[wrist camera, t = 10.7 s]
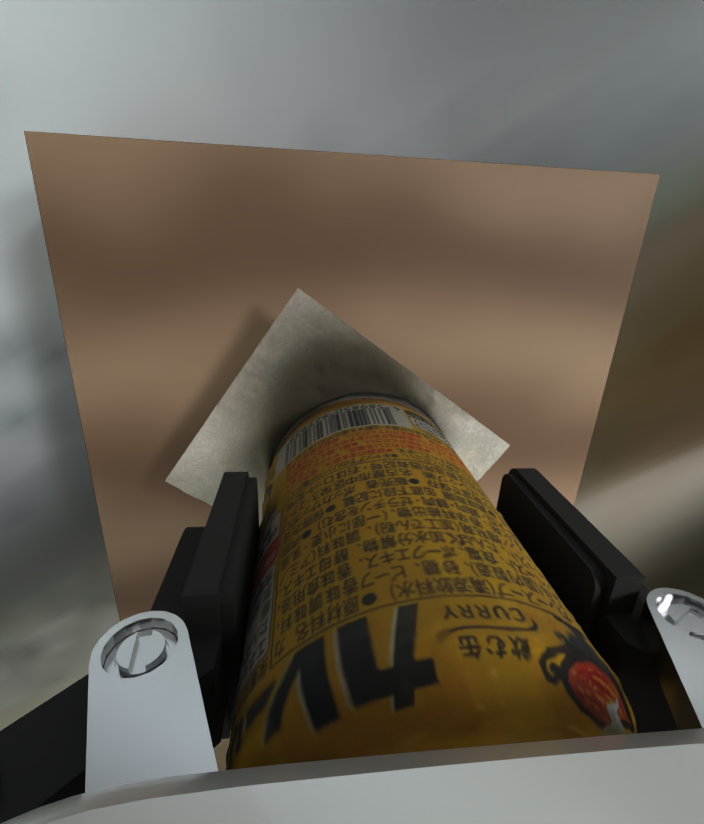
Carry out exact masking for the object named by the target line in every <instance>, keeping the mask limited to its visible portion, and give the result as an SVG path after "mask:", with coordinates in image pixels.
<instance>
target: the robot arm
mask: <svg viewBox="0 0 704 824" xmlns="http://www.w3.org/2000/svg"><path fill="white" fill-rule="evenodd" d="M496 510H497V511H498V512H499V513H501V514H502V516H503V519H504V520H505V522H506V523H507V525H508V526H509V528H510V529H511V531H512V532H513V533H514V535H515V536H516V538H517V539H518V540H519V542H520V543H521V544H522V546H523V548H524V549H525V550H526V552H527V553H528V554H529V556H530V558H531V559H532V560H533V562H534V563H535V565H536V566H537V568H539V569H540V571H541V572H542V574H543V575H544V577H545V578H546V580H547V581H548V583H549V584H550V586H551V587H552V588H553V590H554V591H555V593H556V594H557V596H558V597H559V599H560V600H561V602H562V603H563V604H564V606H565V607H566V608H567V610H568V611H569V612H570V613H571V614H572V615H573V617H574V619H575V621H576V622H577V623H578V624H579V625H580V626H581V628H582V630H583V632H584V633H585V635H586V636H587V638H588V640H589V641H590V643H591V644H592V645H593V647H594V648H595V649H596V651H597V652H598V653H599V655H600V656H601V657H602V658H603V659H604V661H605V662H606V663H607V664H608V665H609V667H610V669H611V670H612V671H613V672H614V673H615V674H616V676H617V677H618V678H619V680H620V683H621V686H622V689H623V692H624V693H625V695H626V697H627V699H628V701H629V703H630V705H631V708H632V711H633V714H634V717H635V720H636V726H637V731H638V733H636V734H623V735H610V736H598V737H586V738H574V739H562V740H550V741H538V742H526V743H514V744H502V745H491V746H479V747H467V748H456V749H444V750H432V751H421V752H410V753H399V754H388V755H377V756H366V757H355V758H344V759H333V760H322V761H311V762H300V763H289V764H278V765H269V766H260V767H251V768H242V769H233V770H224V771H218V769H217V764H216V759H215V755H214V750H213V748H214V747H215V746H217V745H218V744H219V743H220V742H221V739H226V738H229V737H230V731H231V724H232V716H233V711H234V702H235V693H236V689H237V686H238V677H239V670H240V664H241V659H242V651H243V643H244V637H245V627H246V624H247V616H248V609H249V605H250V593H251V590H252V583H253V573H254V566H255V562H256V556H257V550H258V545H257V543H258V539H259V509H258V485H257V477H249V473H248V472H224V474H223V477H222V480H221V483H220V486H219V488H218V491H217V494H216V497H215V500H214V503H213V506H212V509H211V512H210V514H209V517H208V520H207V523H206V526H203V527H187V528H185V530H184V531H183V533H182V536H181V538H180V541H179V543H178V545H177V548H176V550H175V553H174V555H173V558H172V560H171V562H170V565H169V567H168V570H167V572H166V574H165V577H164V579H163V582H162V584H161V586H160V589H159V591H158V594H157V596H156V598H155V601H154V603H153V606H152V608H151V610H150V611H149V612H144V613H139V614H136V615H134V616H131V617H129V618H126V619H124V620H122V621H121V622H119V623H118V624H116V625H115V626H113V627H112V628H110V629H109V630H108V631H107V632H106V633H105V634H104V635H103V636H102V637H101V638H100V639H99V641H98V642H97V644H96V645H95V647H94V649H93V650H92V653H91V657H90V661H89V674H88V675H86V676H85V677H83V678H82V679H80V680H78V681H77V682H75V683H74V684H72V685H71V686H69V687H68V688H66V689H65V690H63V691H61V692H60V693H58V694H57V695H55V696H54V697H52V698H51V699H49V700H48V701H46V702H45V703H43V704H41V705H40V706H38V707H37V708H35V709H34V710H32V711H31V712H29V713H28V714H26V715H24V716H23V717H21V718H20V719H18V720H17V721H15V722H14V723H12V724H11V725H9V726H7V727H6V728H4V729H3V730H1V731H0V824H704V599H703V598H701V597H698V596H696V595H694V594H692V593H689V592H685V591H682V590H678V589H672V588H658V589H654V590H652V591H651V592H649V591H648V590H647V589H646V588H645V587H644V586H643V585H642V584H643V581H644V578H645V576H644V575H643V574H642V573H641V572H640V571H639V570H638V569H637V568H636V567H635V566H634V565H633V564H632V563H631V562H630V561H629V560H628V559H627V558H626V557H625V556H624V555H623V554H622V553H621V552H620V551H619V550H618V549H617V548H616V547H615V546H614V545H613V544H612V543H611V542H610V541H609V540H608V539H607V538H606V537H604V536H603V535H602V534H601V533H600V532H599V531H598V530H597V529H596V528H595V527H594V526H593V525H592V524H591V523H590V522H589V521H588V520H587V519H586V518H585V517H584V516H583V515H582V514H581V513H580V512H579V511H578V510H577V509H576V508H575V507H574V506H573V505H572V504H571V503H570V502H569V501H568V500H567V499H566V498H565V497H564V496H563V495H562V494H561V493H560V492H559V491H558V490H557V489H556V488H555V487H554V486H553V485H552V484H551V483H550V482H549V481H548V480H547V479H546V478H545V477H544V476H543V475H542V474H541V473H540V472H539V471H538V470H536V469H535V468H512V469H511V470H510V471H509V473H508V474H505V475H504V476H503V477H502V481H501V487H500V492H499V497H498V502H497V508H496Z"/></svg>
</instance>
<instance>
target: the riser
mask: <svg viewBox="0 0 704 824" xmlns="http://www.w3.org/2000/svg"><path fill="white" fill-rule="evenodd" d="M24 133H25V138H26V144H27V149H28V154H29V159H30V164H31V169H32V174H33V179H34V184H35V190H36V195H37V200H38V205H39V210H40V215H41V220H42V225H43V230H44V235H45V241H46V246H47V251H48V256H49V261H50V266H51V271H52V276H53V281H54V287H55V292H56V297H57V302H58V307H59V312H60V317H61V322H62V327H63V333H64V338H65V343H66V348H67V353H68V358H69V363H70V368H71V373H72V378H73V384H74V389H75V394H76V399H77V404H78V409H79V414H80V419H81V424H82V430H83V435H84V440H85V445H86V450H87V455H88V460H89V465H90V470H91V476H92V481H93V486H94V491H95V496H96V501H97V506H98V511H99V516H100V521H101V527H102V532H103V537H104V542H105V547H106V552H107V557H108V562H109V567H110V573H111V578H112V583H113V588H114V593H115V598H116V603H117V608H118V613H119V619H120V622H121V621H122V620H124V619H126V618H129V617H131V616H134V615H136V614H139V613H144V612H149V611H150V610H151V608H152V606H153V603H154V601H155V598H156V596H157V594H158V591H159V589H160V586H161V584H162V582H163V579H164V577H165V574H166V572H167V570H168V567H169V565H170V562H171V560H172V558H173V555H174V553H175V550H176V548H177V545H178V543H179V541H180V538H181V536H182V533H183V531H184V530H185V528H187V527H203V526H206V523H207V520H208V517H209V514H210V512H211V509H212V506H211V505H210V504H208V503H206V502H204V501H202V500H199V499H197V498H195V497H193V496H191V495H189V494H187V493H185V492H183V491H182V490H181V489H179V488H177V487H175V486H173V485H171V484H169V483H168V482H166V481H165V480H166V479H167V477H168V476H169V474H170V473H171V471H172V470H173V468H174V467H175V465H176V464H177V463H178V461H179V460H180V458H181V457H182V455H183V454H184V453H185V451H186V449H187V448H188V446H189V445H190V444H191V442H192V441H193V439H194V438H195V436H196V435H197V433H198V432H199V431H200V429H201V428H202V427H203V425H204V423H205V422H206V420H207V419H208V417H209V416H210V414H211V413H212V411H213V410H214V408H215V407H216V405H217V404H218V403H219V401H220V400H221V399H222V397H223V396H224V394H225V393H226V391H227V390H228V388H229V387H230V385H231V384H232V383H233V381H234V380H235V378H236V377H237V375H238V374H239V373H240V371H241V369H242V368H243V367H244V365H245V363H246V362H247V360H248V359H249V358H250V357H251V355H252V354H253V353H254V351H255V349H256V348H257V346H258V345H259V343H260V342H261V341H262V339H263V338H264V336H265V335H266V333H267V332H268V330H269V329H270V328H271V326H272V325H273V323H274V322H275V320H276V319H277V317H278V316H279V315H280V313H281V312H282V311H283V309H284V307H285V306H286V304H287V303H288V302H289V300H290V299H291V297H292V296H293V294H294V293H295V292H296V290H297V289H298V288H299V289H300V290H302V291H303V292H304V293H306V294H307V295H308V296H310V297H311V298H312V299H314V300H315V301H317V302H318V303H319V304H320V305H322V306H323V307H324V308H326V309H327V310H328V311H330V312H331V313H332V314H334V315H335V316H337V317H338V318H339V319H341V320H342V321H344V322H345V323H346V324H348V325H349V326H350V327H352V328H354V329H355V330H356V331H358V332H359V333H360V334H361V335H363V336H364V337H365V338H367V339H368V340H369V341H371V342H372V343H373V344H375V345H376V346H377V347H379V348H380V349H381V350H383V351H384V352H385V353H387V354H388V355H389V356H390V357H392V358H393V359H395V360H396V361H397V362H399V363H400V364H401V365H403V366H404V367H406V368H407V369H408V370H410V371H412V372H413V373H414V374H415V375H416V376H418V377H419V378H421V379H422V380H423V381H425V382H426V383H427V384H429V385H430V386H431V387H433V388H434V389H435V390H437V391H438V392H440V393H441V394H442V395H444V396H445V397H446V398H448V399H449V400H450V401H452V402H453V403H454V404H456V405H457V406H458V407H460V408H461V409H462V410H463V411H465V412H466V413H468V414H469V415H471V416H472V417H473V418H475V419H476V420H477V421H478V422H480V423H481V424H482V425H484V426H485V427H486V428H488V429H489V430H490V431H492V432H493V433H494V434H496V435H497V436H498V437H500V438H501V439H502V440H504V441H505V442H507V443H508V444H509V445H510V446H509V447H508V448H507V450H506V451H505V452H504V453H503V454H502V455H501V457H500V458H499V459H498V460H497V461H496V462H495V463H494V464H493V465H492V466H491V467H490V468H489V469H488V470H487V471H486V472H485V474H484V475H483V476H482V477H481V478H480V479H479V480H478V481H477V483H478V484H479V486H480V487H481V488H482V490H483V491H484V493H485V494H486V495H487V497H488V498H489V500H490V501H491V502H492V503H493V505H494V507H495V508H497V502H498V497H499V492H500V487H501V481H502V477H503V476H504V475H505V474H508V473H509V471H510V470H511V469H512V468H535V469H536V470H538V471H539V472H540V473H541V474H542V475H543V476H544V477H545V478H546V479H547V480H548V481H549V482H550V483H551V484H552V485H553V486H554V487H555V488H556V489H557V490H558V491H559V492H560V493H561V494H562V495H563V496H564V497H565V498H566V499H567V500H568V501H569V502H570V503H571V504H572V505H573V506H574V502H575V499H576V495H577V491H578V487H579V483H580V480H581V476H582V472H583V468H584V464H585V460H586V457H587V453H588V449H589V445H590V441H591V438H592V434H593V430H594V426H595V422H596V418H597V415H598V411H599V407H600V403H601V399H602V396H603V392H604V388H605V384H606V380H607V376H608V373H609V369H610V365H611V361H612V357H613V354H614V350H615V346H616V342H617V338H618V334H619V331H620V327H621V323H622V319H623V315H624V311H625V308H626V304H627V300H628V296H629V292H630V289H631V285H632V281H633V277H634V273H635V269H636V266H637V262H638V258H639V254H640V250H641V247H642V243H643V239H644V235H645V231H646V227H647V224H648V220H649V216H650V212H651V208H652V205H653V201H654V197H655V193H656V189H657V185H658V182H659V178H660V175H659V174H645V173H630V172H615V171H601V170H586V169H571V168H557V167H542V166H528V165H513V164H498V163H484V162H469V161H454V160H440V159H425V158H410V157H396V156H381V155H367V154H352V153H337V152H323V151H308V150H293V149H279V148H264V147H250V146H235V145H220V144H206V143H191V142H176V141H162V140H147V139H133V138H118V137H103V136H89V135H74V134H59V133H45V132H30V131H24Z"/></svg>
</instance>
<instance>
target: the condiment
mask: <svg viewBox="0 0 704 824" xmlns="http://www.w3.org/2000/svg"><path fill="white" fill-rule="evenodd" d="M509 446H510V445H509V444H508V443H507V442H505V441H504V440H502V439H501V438H500V437H498V436H497V435H496V434H494V433H493V432H492V431H490V430H489V429H488V428H486V427H485V426H484V425H482V424H481V423H480V422H478V421H477V420H476V419H475V418H473V417H472V416H471V415H469V414H468V413H466V412H465V411H463V410H462V409H461V408H460V407H458V406H457V405H456V404H454V403H453V402H452V401H450V400H449V399H448V398H446V397H445V396H444V395H442V394H441V393H440V392H438V391H437V390H435V389H434V388H433V387H431V386H430V385H429V384H427V383H426V382H425V381H423V380H422V379H421V378H419V377H418V376H416V375H415V374H414V373H413V372H412V371H410V370H408V369H407V368H406V367H404V366H403V365H401V364H400V363H399V362H397V361H396V360H395V359H393V358H392V357H390V356H389V355H388V354H387V353H385V352H384V351H383V350H381V349H380V348H379V347H377V346H376V345H375V344H373V343H372V342H371V341H369V340H368V339H367V338H365V337H364V336H363V335H361V334H360V333H359V332H358V331H356V330H355V329H354V328H352V327H350V326H349V325H348V324H346V323H345V322H344V321H342V320H341V319H339V318H338V317H337V316H335V315H334V314H332V313H331V312H330V311H328V310H327V309H326V308H324V307H323V306H322V305H320V304H319V303H318V302H317V301H315V300H314V299H312V298H311V297H310V296H308V295H307V294H306V293H304V292H303V291H302V290H300V289H299V288H298V289H297V290H296V292H295V293H294V294H293V296H292V297H291V299H290V300H289V302H288V303H287V304H286V306H285V307H284V309H283V311H282V312H281V313H280V315H279V316H278V317H277V319H276V320H275V322H274V323H273V325H272V326H271V328H270V329H269V330H268V332H267V333H266V335H265V336H264V338H263V339H262V341H261V342H260V343H259V345H258V346H257V348H256V349H255V351H254V353H253V354H252V355H251V357H250V358H249V359H248V360H247V362H246V363H245V365H244V367H243V368H242V369H241V371H240V373H239V374H238V375H237V377H236V378H235V380H234V381H233V383H232V384H231V385H230V387H229V388H228V390H227V391H226V393H225V394H224V396H223V397H222V399H221V400H220V401H219V403H218V404H217V405H216V407H215V408H214V410H213V411H212V413H211V414H210V416H209V417H208V419H207V420H206V422H205V423H204V425H203V427H202V428H201V429H200V431H199V432H198V433H197V435H196V436H195V438H194V439H193V441H192V442H191V444H190V445H189V446H188V448H187V449H186V451H185V453H184V454H183V455H182V457H181V458H180V460H179V461H178V463H177V464H176V465H175V467H174V468H173V470H172V471H171V473H170V474H169V476H168V477H167V479H166V480H165V481H166V482H168V483H169V484H171V485H173V486H175V487H177V488H179V489H181V490H182V491H183V492H185V493H187V494H189V495H191V496H193V497H195V498H197V499H199V500H202V501H204V502H206V503H208V504H210V505H211V506H213V503H214V500H215V497H216V494H217V491H218V488H219V486H220V483H221V480H222V477H223V474H224V472H248V473H249V477H257V485H258V509H259V539H258V543H257V545H258V550H257V556H256V562H255V566H254V573H253V583H252V590H251V593H250V605H249V609H248V616H247V624H246V627H245V637H244V643H243V651H242V659H241V664H240V670H239V677H238V686H237V689H236V693H235V702H234V711H233V716H232V725H231V736H230V744H229V747H228V751H227V755H226V765H227V768H226V770H233V769H242V768H251V767H260V766H269V765H278V764H289V763H300V762H311V761H322V760H333V759H344V758H355V757H366V756H377V755H388V754H399V753H410V752H421V751H432V750H444V749H456V748H467V747H479V746H491V745H502V744H514V743H526V742H538V741H550V740H562V739H574V738H586V737H598V736H610V735H623V734H636V733H638V731H637V726H636V720H635V717H634V714H633V711H632V708H631V705H630V703H629V701H628V699H627V697H626V695H625V693H624V692H623V689H622V686H621V683H620V680H619V678H618V677H617V676H616V674H615V673H614V672H613V671H612V670H611V669H610V667H609V665H608V664H607V663H606V662H605V661H604V659H603V658H602V657H601V656H600V655H599V653H598V652H597V651H596V649H595V648H594V647H593V645H592V644H591V643H590V641H589V640H588V638H587V636H586V635H585V633H584V632H583V630H582V628H581V626H580V625H579V624H578V623H577V622H576V621H575V619H574V617H573V615H572V614H571V613H570V612H569V611H568V610H567V608H566V607H565V606H564V604H563V603H562V602H561V600H560V599H559V597H558V596H557V594H556V593H555V591H554V590H553V588H552V587H551V586H550V584H549V583H548V581H547V580H546V578H545V577H544V575H543V574H542V572H541V571H540V569H539V568H537V566H536V565H535V563H534V562H533V560H532V559H531V558H530V556H529V554H528V553H527V552H526V550H525V549H524V548H523V546H522V544H521V543H520V542H519V540H518V539H517V538H516V536H515V535H514V533H513V532H512V531H511V529H510V528H509V526H508V525H507V523H506V522H505V520H504V519H503V516H502V514H501V513H499V512H498V511H497V510H496V508H495V507H494V505H493V503H492V502H491V501H490V500H489V498H488V497H487V495H486V494H485V493H484V491H483V490H482V488H481V487H480V486H479V484H478V483H477V481H478V480H479V479H480V478H481V477H482V476H483V475H484V474H485V472H486V471H487V470H488V469H489V468H490V467H491V466H492V465H493V464H494V463H495V462H496V461H497V460H498V459H499V458H500V457H501V455H502V454H503V453H504V452H505V451H506V450H507V448H508V447H509Z"/></svg>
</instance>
